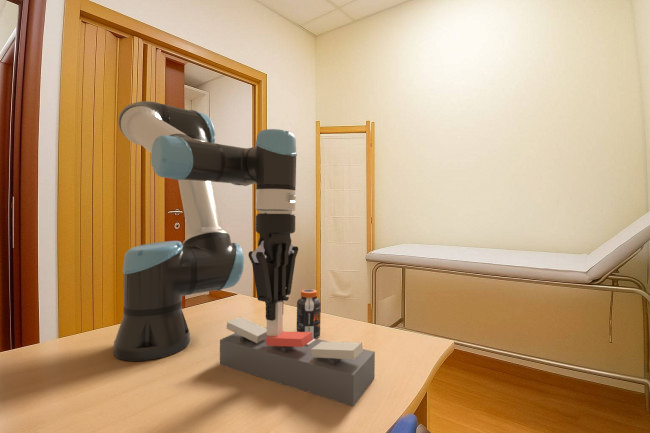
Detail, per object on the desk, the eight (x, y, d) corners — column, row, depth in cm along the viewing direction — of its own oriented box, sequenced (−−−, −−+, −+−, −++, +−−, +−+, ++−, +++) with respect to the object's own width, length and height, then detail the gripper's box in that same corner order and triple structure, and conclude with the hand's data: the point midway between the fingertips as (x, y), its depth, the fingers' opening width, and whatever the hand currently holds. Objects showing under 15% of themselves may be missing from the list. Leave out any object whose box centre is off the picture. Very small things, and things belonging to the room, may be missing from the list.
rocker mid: (266, 345, 61) (265, 337, 61) (278, 338, 64) (277, 331, 65) (302, 347, 57) (301, 339, 57) (312, 339, 61) (311, 332, 61)
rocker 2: (312, 357, 56) (311, 349, 57) (322, 349, 60) (321, 341, 60) (354, 359, 53) (353, 350, 53) (362, 350, 56) (361, 342, 56)
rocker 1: (226, 328, 66) (227, 322, 66) (239, 323, 69) (240, 316, 69) (256, 343, 62) (257, 336, 62) (269, 336, 66) (270, 329, 65)
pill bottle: (317, 341, 77) (317, 293, 77) (293, 339, 79) (293, 292, 78) (322, 332, 83) (323, 288, 83) (300, 330, 84) (300, 287, 84)
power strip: (219, 364, 65) (219, 335, 65) (253, 346, 74) (253, 320, 74) (353, 406, 51) (353, 369, 51) (374, 378, 60) (374, 346, 60)
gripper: (270, 212, 55) (268, 351, 55) (310, 213, 66) (308, 328, 67) (236, 212, 58) (235, 342, 59) (280, 212, 70) (278, 321, 70)
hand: (274, 334), depth 63 cm, fingers closed
